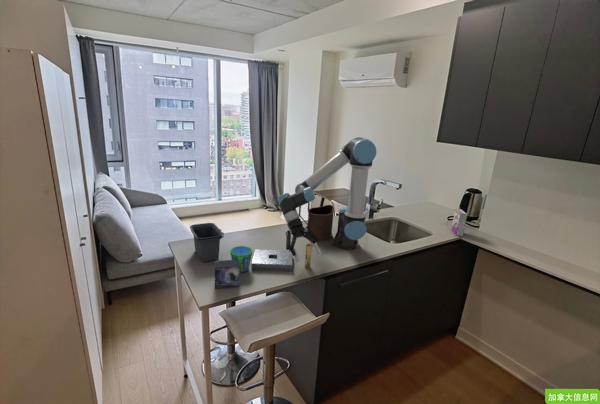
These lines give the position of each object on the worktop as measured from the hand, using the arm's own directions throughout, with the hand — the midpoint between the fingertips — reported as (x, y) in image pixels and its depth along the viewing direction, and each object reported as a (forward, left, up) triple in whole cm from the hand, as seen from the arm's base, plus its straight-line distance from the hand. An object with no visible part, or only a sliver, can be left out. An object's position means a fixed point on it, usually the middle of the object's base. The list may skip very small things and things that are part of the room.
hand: (309, 258), depth 153 cm
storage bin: (+53, -11, -6) cm, 55 cm away
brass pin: (+1, -1, -6) cm, 6 cm away
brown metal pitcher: (-6, -42, -6) cm, 43 cm away
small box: (+38, +18, -6) cm, 42 cm away
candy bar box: (-109, -60, -6) cm, 125 cm away
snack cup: (+34, +4, -6) cm, 34 cm away
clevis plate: (+19, -4, -6) cm, 20 cm away
